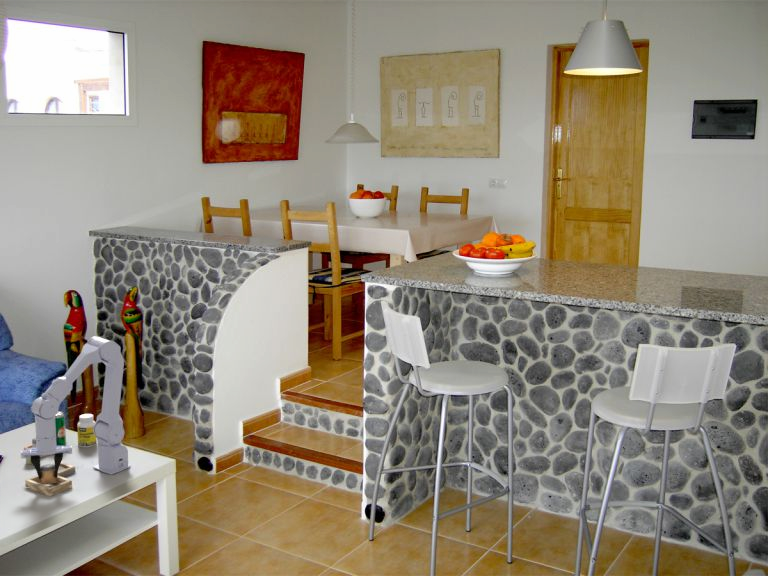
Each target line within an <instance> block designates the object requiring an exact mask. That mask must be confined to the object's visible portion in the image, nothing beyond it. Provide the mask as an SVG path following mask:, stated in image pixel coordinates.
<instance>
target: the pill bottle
mask: <svg viewBox="0 0 768 576" xmlns="http://www.w3.org/2000/svg"><path fill="white" fill-rule="evenodd" d="M95 423H96V421H95V420H94V414H92V413H84V414H82V413H81V415H79V420H78V422H77V446H78V447H80V448H90V447H94V446H95V445H97V437H96V436H95V435H94V433H93V427H94V425H95Z"/></svg>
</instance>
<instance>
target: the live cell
mask: <svg viewBox="0 0 768 576" xmlns="http://www.w3.org/2000/svg"><path fill="white" fill-rule="evenodd" d="M40 466H41V478H42V482H41V484H43V485H51V484H54V482H55V481H56V480H55V465H54V464H53V463H46V464H43V465H40Z"/></svg>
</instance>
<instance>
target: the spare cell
mask: <svg viewBox="0 0 768 576" xmlns="http://www.w3.org/2000/svg"><path fill="white" fill-rule="evenodd" d="M28 449H33V448H28ZM28 449H26V450H28ZM25 464H26V465H27V466H29V465H30V466H31V465H32V466H33V464H32V463H31V457H25Z"/></svg>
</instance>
